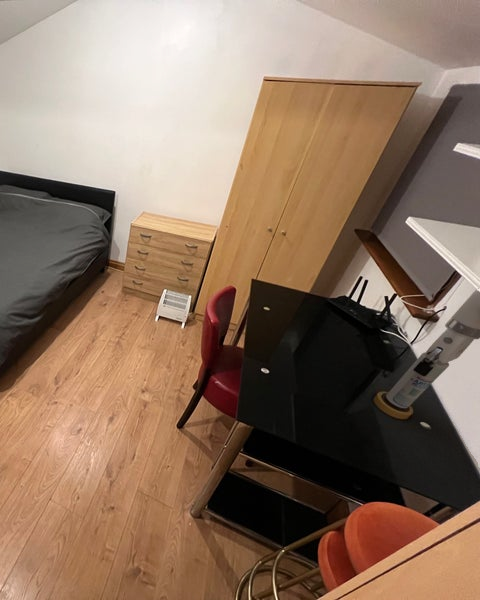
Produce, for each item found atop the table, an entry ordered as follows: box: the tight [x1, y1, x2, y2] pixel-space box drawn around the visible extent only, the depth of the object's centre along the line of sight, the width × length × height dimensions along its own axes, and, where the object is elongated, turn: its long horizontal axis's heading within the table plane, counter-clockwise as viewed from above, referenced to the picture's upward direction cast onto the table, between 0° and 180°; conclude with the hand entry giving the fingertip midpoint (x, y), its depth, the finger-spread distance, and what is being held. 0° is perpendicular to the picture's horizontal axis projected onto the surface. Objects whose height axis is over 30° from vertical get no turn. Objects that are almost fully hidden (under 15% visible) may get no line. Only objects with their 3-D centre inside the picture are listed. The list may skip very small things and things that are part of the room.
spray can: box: [386, 351, 450, 408], centre depth 107 cm, size 6×6×20 cm
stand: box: [373, 391, 414, 420], centre depth 114 cm, size 10×10×3 cm
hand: (425, 370), depth 104 cm, fingers closed on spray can, 6 cm apart
